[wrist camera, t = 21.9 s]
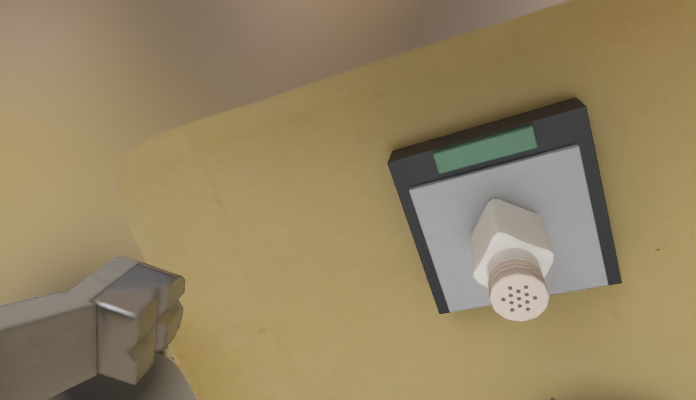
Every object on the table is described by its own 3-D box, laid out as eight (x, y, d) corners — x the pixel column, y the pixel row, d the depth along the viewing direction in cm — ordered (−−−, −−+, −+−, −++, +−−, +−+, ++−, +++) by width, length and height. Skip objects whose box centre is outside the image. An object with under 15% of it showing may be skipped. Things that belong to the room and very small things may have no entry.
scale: (392, 151, 39) (386, 164, 35) (576, 97, 34) (588, 107, 31) (440, 294, 43) (439, 318, 40) (610, 263, 38) (624, 287, 35)
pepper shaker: (517, 257, 36) (536, 338, 27) (467, 238, 36) (470, 311, 28) (542, 213, 34) (571, 284, 26) (490, 192, 35) (501, 256, 26)
